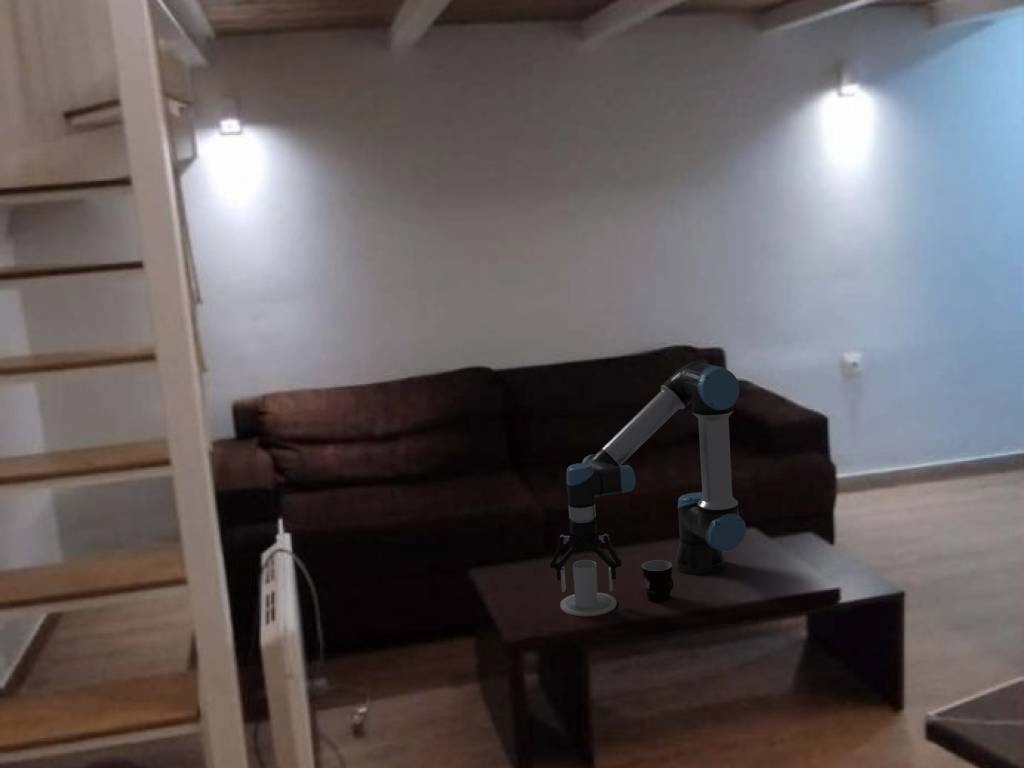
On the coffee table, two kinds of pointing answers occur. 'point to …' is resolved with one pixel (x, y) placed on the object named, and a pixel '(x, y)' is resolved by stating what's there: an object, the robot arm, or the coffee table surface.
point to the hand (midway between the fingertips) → (587, 590)
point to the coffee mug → (658, 580)
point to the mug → (585, 583)
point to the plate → (603, 606)
